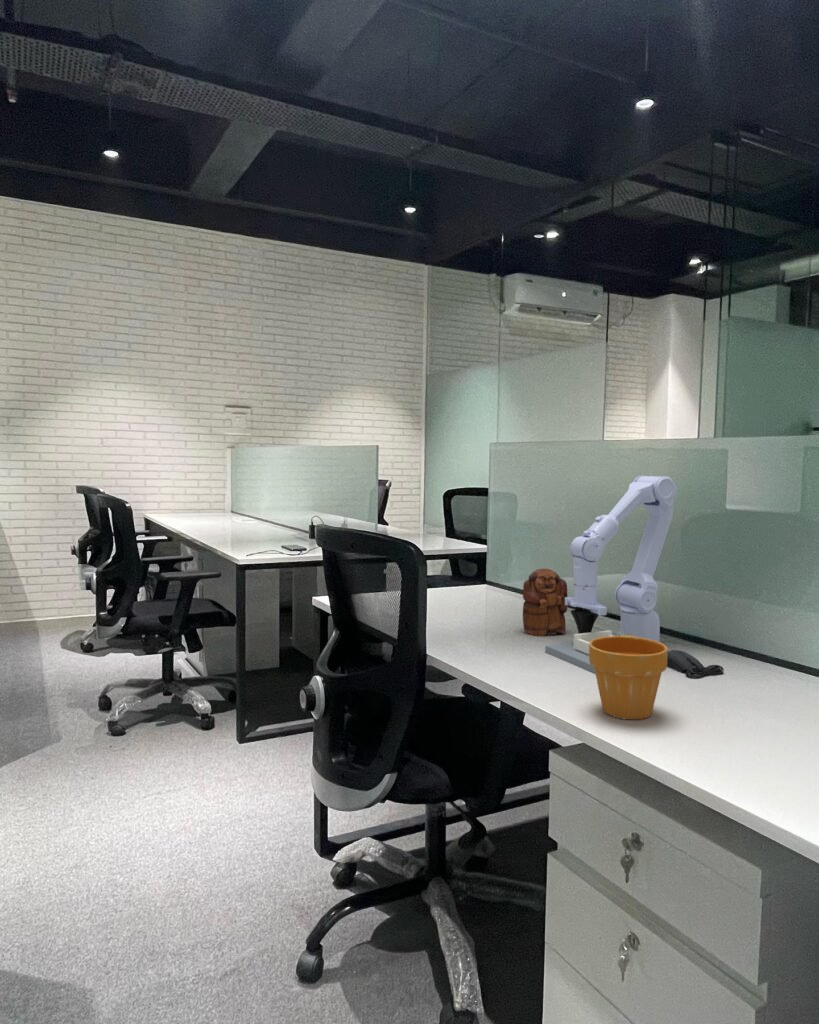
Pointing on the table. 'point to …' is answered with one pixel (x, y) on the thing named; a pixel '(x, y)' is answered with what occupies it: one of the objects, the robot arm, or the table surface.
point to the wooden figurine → (544, 603)
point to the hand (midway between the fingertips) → (584, 638)
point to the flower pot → (627, 674)
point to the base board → (570, 655)
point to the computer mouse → (690, 665)
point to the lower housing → (588, 639)
